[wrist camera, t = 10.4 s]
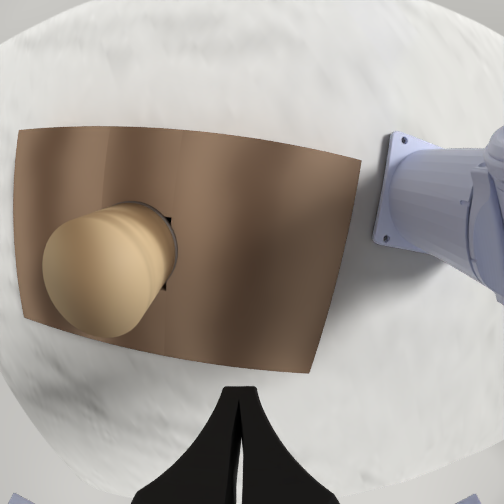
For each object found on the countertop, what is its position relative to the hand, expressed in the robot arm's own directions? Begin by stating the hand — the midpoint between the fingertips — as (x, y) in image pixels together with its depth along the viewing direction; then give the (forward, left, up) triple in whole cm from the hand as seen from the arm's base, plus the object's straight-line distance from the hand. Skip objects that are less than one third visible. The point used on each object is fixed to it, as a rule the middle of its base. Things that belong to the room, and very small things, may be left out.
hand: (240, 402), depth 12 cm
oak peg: (+7, -4, -9) cm, 12 cm away
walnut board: (+6, -4, -9) cm, 12 cm away
